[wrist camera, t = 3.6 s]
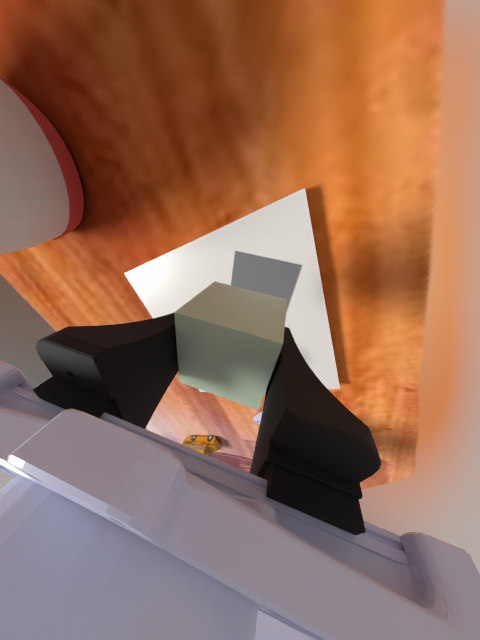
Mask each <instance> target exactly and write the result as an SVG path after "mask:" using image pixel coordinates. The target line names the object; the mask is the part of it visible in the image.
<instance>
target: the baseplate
mask: <svg viewBox="0 0 480 640" xmlns="http://www.w3.org/2000/svg"><path fill="white" fill-rule="evenodd" d="M124 274H125V276H126V277H127V279H128V280H129V282H130V283H131V285H132V286H133V288H134V290H135V291H136V293H137V294H138V296H139V297H140V299H141V300H142V302H143V304H144V305H145V307H146V308H147V310H148V311H149V313H150V314H151V316H152V318H157V317H161V316H164V315H168V314H171V313H174V312H175V311H177V310H178V309H179V308H180V307H182V306H183V305H184V304H186V303H187V302H188V301H190V300H191V299H192V298H194V297H195V296H196V295H197V294H199V293H200V292H201V291H203V290H204V289H205V288H207V287H208V286H209V285H210V284H212V283H213V282H214V281H216V282H220V283H224V284H228V285H232V286H236V287H240V288H244V289H248V290H252V291H256V292H260V293H264V294H268V295H272V296H276V297H280V298H284V299H287V308H286V319H285V327H288V328H289V329H290V331H291V333H292V336H293V338H294V340H295V343H296V345H297V347H298V349H299V350H300V352H301V354H302V356H303V358H304V359H305V361H306V362H307V364H308V365H309V367H310V368H311V370H312V371H313V372H314V374H315V375H316V376H317V377H318V379H319V380H320V381H321V382H322V383H323V384H324V386H325V387H326V388H327V389H340V385H339V380H338V374H337V368H336V362H335V357H334V351H333V345H332V340H331V334H330V328H329V322H328V317H327V311H326V305H325V299H324V294H323V288H322V282H321V276H320V271H319V265H318V259H317V254H316V248H315V242H314V236H313V231H312V225H311V219H310V213H309V208H308V202H307V196H306V190H305V188H304V189H301V190H299V191H297V192H295V193H293V194H291V195H289V196H287V197H285V198H282V199H280V200H278V201H276V202H274V203H272V204H270V205H268V206H266V207H263V208H261V209H259V210H257V211H255V212H253V213H251V214H249V215H247V216H244V217H242V218H240V219H238V220H236V221H234V222H232V223H230V224H228V225H225V226H223V227H221V228H219V229H217V230H215V231H213V232H211V233H209V234H206V235H204V236H202V237H200V238H198V239H196V240H194V241H192V242H190V243H187V244H185V245H183V246H181V247H179V248H177V249H175V250H173V251H171V252H168V253H166V254H164V255H162V256H160V257H158V258H156V259H154V260H152V261H149V262H147V263H145V264H143V265H141V266H139V267H137V268H135V269H133V270H130V271H128V272H126V273H124ZM199 391H200V392H206V391H203V390H201V389H199Z"/></svg>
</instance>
